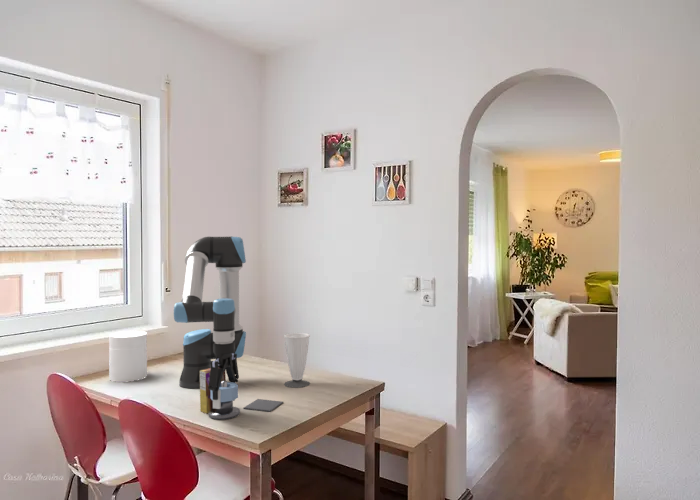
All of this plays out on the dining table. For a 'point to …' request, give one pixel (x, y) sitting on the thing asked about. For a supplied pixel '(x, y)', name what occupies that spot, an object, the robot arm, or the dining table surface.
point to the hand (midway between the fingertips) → (224, 404)
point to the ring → (228, 392)
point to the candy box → (206, 390)
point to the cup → (296, 358)
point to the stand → (224, 409)
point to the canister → (127, 356)
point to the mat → (263, 405)
